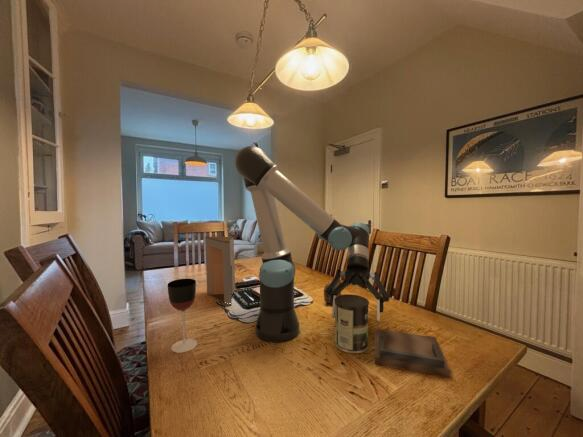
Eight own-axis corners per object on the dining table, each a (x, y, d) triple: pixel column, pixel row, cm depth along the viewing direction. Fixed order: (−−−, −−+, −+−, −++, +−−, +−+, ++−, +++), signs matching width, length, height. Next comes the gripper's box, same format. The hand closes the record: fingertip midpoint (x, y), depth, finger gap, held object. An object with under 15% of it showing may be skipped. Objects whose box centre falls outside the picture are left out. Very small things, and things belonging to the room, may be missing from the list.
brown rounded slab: (329, 306, 108) (329, 287, 108) (322, 304, 110) (322, 285, 109) (342, 295, 121) (342, 277, 121) (335, 293, 123) (335, 276, 122)
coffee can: (366, 337, 84) (367, 295, 83) (369, 355, 74) (370, 308, 73) (334, 334, 86) (335, 293, 85) (333, 351, 76) (333, 305, 75)
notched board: (374, 363, 70) (374, 349, 70) (374, 334, 85) (374, 322, 85) (449, 377, 65) (450, 361, 64) (435, 343, 80) (435, 330, 80)
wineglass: (171, 356, 74) (168, 289, 73) (169, 342, 82) (167, 280, 81) (199, 349, 78) (197, 284, 77) (196, 335, 86) (193, 277, 84)
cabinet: (207, 293, 124) (205, 236, 122) (225, 289, 131) (223, 234, 129) (228, 306, 109) (226, 241, 107) (247, 300, 115) (246, 239, 113)
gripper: (394, 267, 92) (397, 328, 79) (324, 263, 99) (317, 318, 86) (395, 256, 86) (399, 320, 73) (322, 253, 94) (314, 310, 81)
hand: (355, 319), depth 80 cm, fingers open, 13 cm apart
